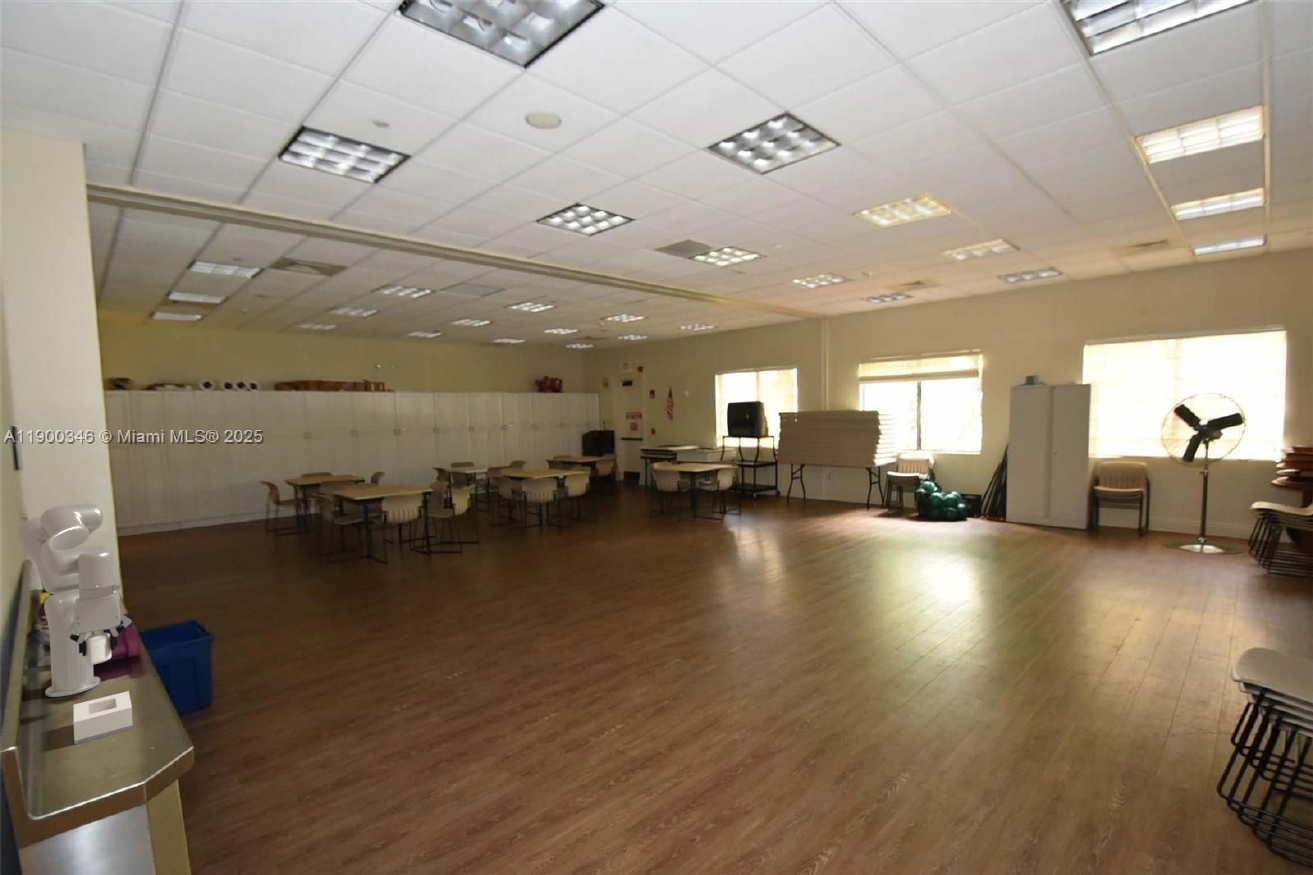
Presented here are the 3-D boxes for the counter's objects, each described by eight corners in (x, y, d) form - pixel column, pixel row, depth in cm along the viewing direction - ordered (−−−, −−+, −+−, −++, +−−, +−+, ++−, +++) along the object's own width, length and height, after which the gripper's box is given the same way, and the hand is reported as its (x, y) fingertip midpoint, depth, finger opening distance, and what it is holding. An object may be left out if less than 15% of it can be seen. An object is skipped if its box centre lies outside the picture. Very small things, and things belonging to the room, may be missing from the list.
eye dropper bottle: (111, 661, 179) (110, 621, 178) (85, 666, 175) (84, 626, 174) (111, 656, 182) (110, 617, 181) (85, 661, 178) (84, 622, 177)
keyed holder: (74, 725, 168) (73, 704, 168) (129, 711, 176) (128, 691, 176) (74, 744, 158) (73, 722, 158) (132, 728, 166) (131, 707, 166)
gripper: (134, 583, 186) (135, 640, 187) (55, 595, 174) (58, 656, 175) (135, 589, 181) (137, 647, 181) (55, 601, 169) (57, 664, 169)
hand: (98, 651), depth 178 cm, fingers closed on eye dropper bottle, 5 cm apart
